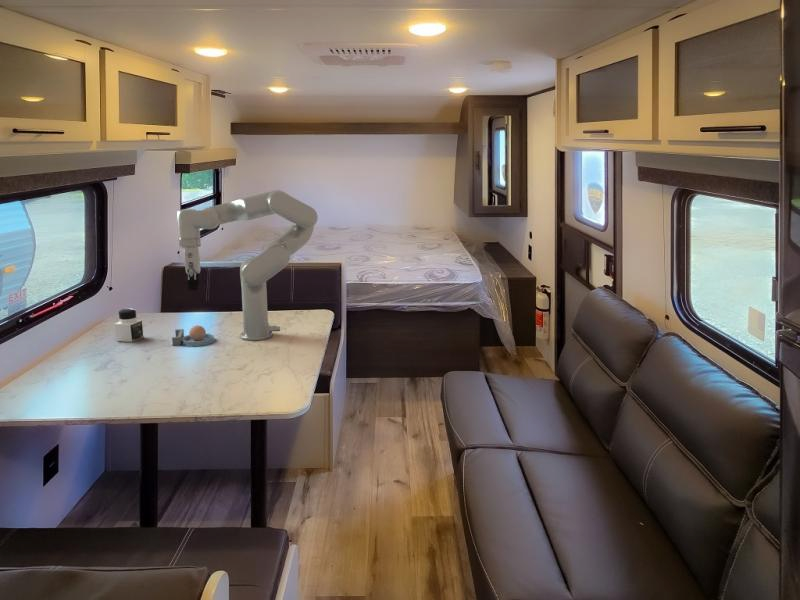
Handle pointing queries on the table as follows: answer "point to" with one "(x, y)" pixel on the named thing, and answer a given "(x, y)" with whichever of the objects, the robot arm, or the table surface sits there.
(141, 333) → the medicine bottle
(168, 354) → the table surface
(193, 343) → the dish
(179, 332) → the gate arch
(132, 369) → the table surface
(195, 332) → the ball
